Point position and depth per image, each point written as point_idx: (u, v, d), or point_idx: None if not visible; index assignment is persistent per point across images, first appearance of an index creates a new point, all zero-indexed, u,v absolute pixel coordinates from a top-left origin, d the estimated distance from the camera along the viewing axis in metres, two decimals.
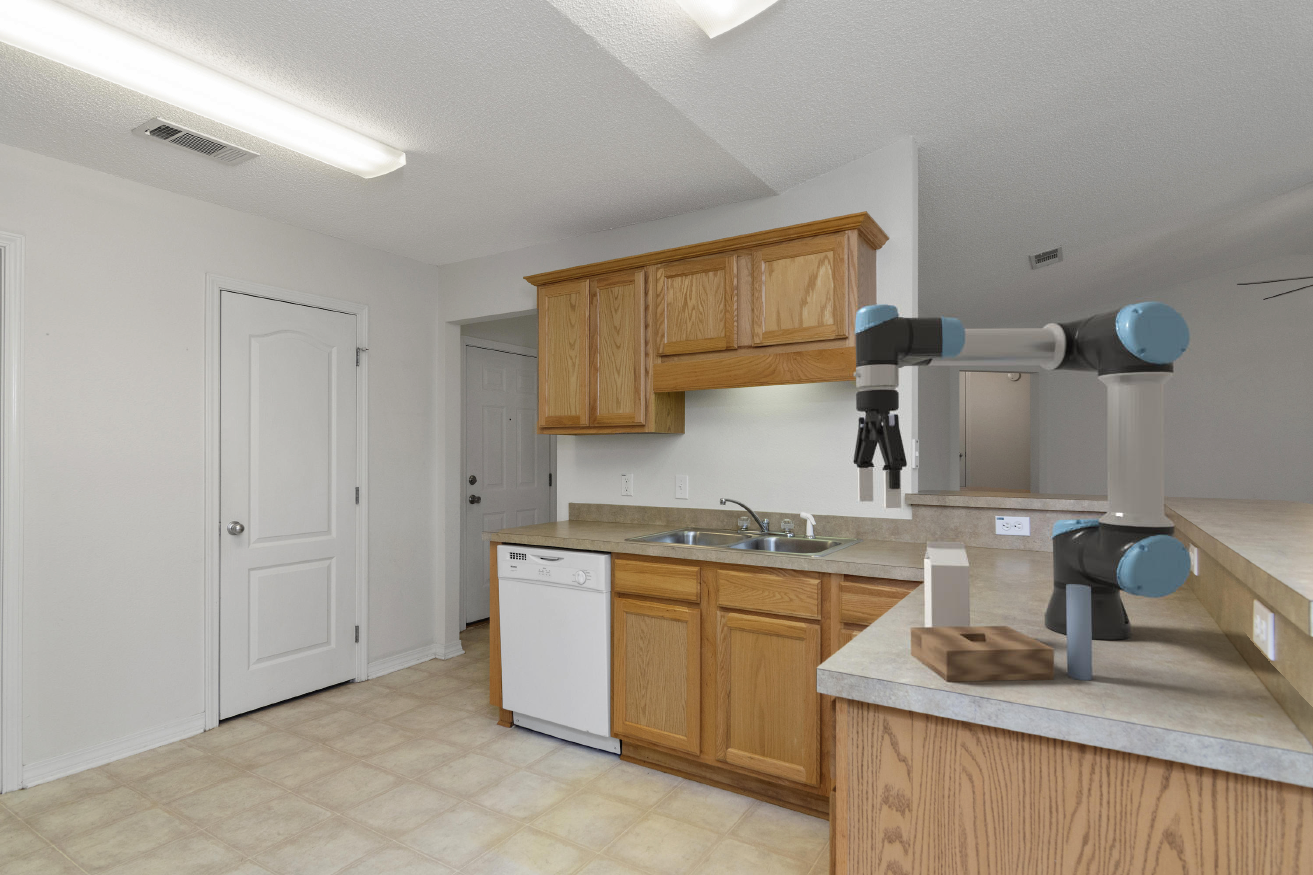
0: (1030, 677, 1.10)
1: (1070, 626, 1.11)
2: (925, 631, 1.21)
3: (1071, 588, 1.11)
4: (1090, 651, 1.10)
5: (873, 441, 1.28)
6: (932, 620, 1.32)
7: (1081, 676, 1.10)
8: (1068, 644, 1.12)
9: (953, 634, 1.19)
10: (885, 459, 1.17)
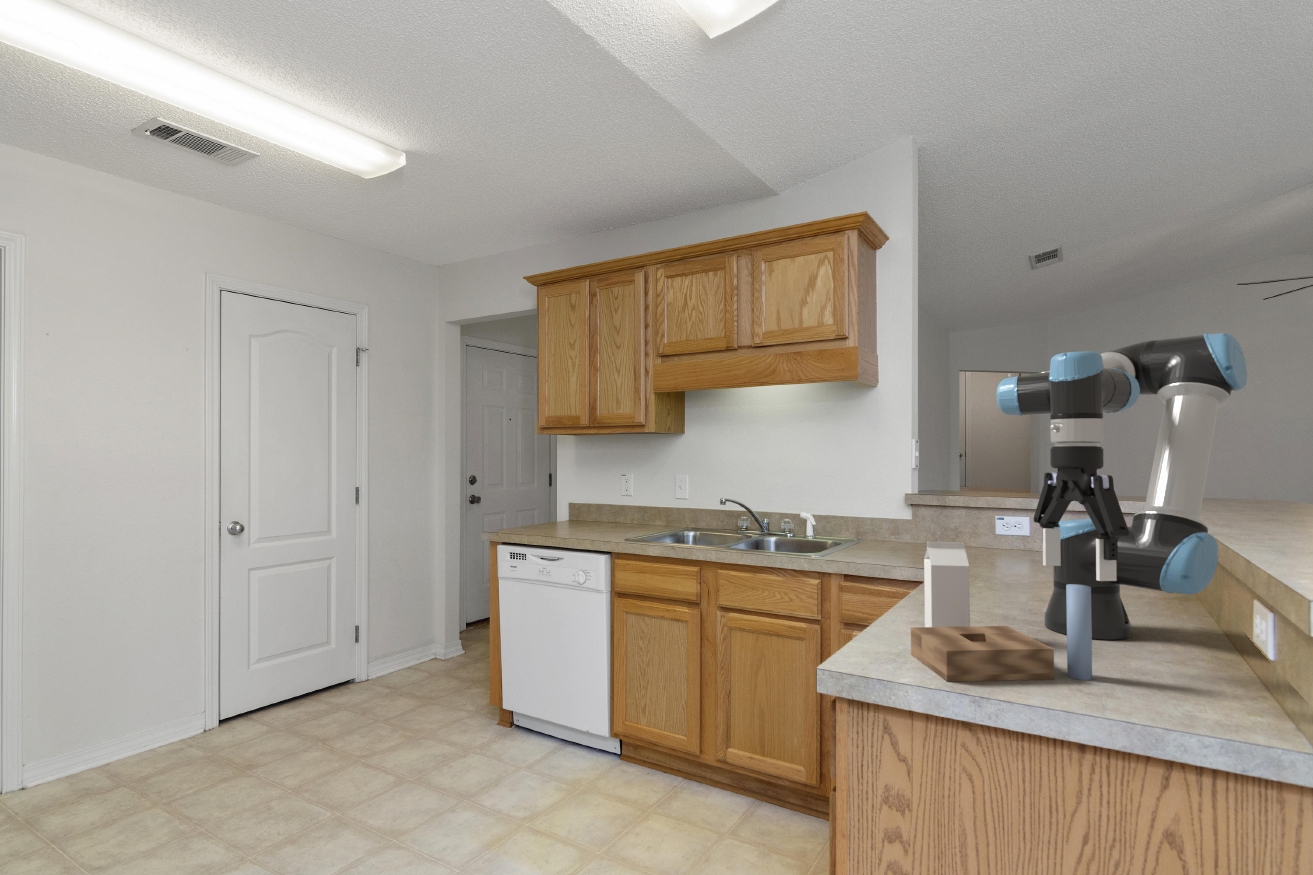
0: (1030, 677, 1.10)
1: (1070, 626, 1.11)
2: (925, 631, 1.21)
3: (1071, 588, 1.11)
4: (1090, 651, 1.10)
5: (1066, 500, 1.15)
6: (932, 620, 1.32)
7: (1081, 676, 1.10)
8: (1068, 644, 1.12)
9: (953, 634, 1.19)
10: (1098, 525, 1.05)
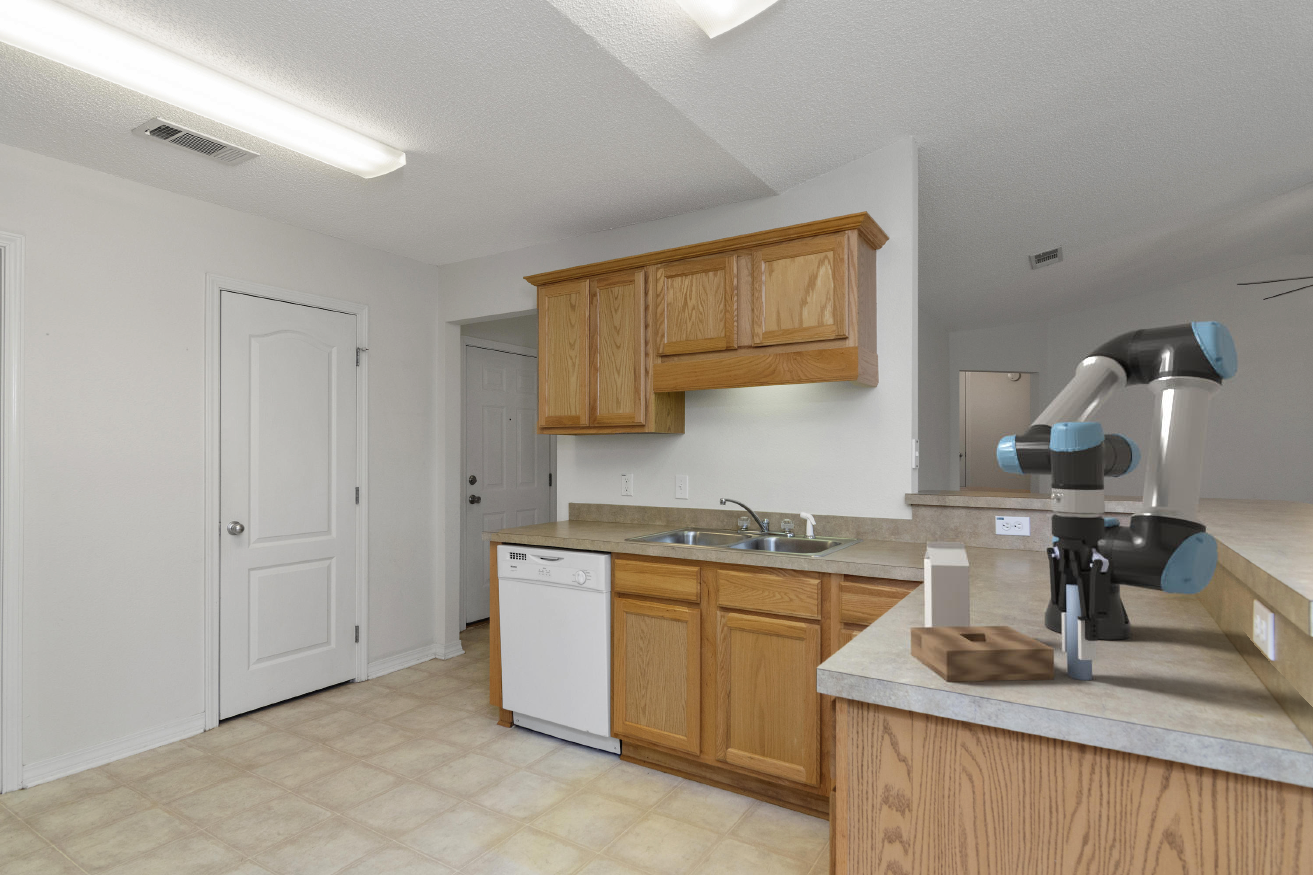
0: (1030, 677, 1.10)
1: (1070, 626, 1.11)
2: (925, 631, 1.21)
3: (1071, 588, 1.11)
4: None
5: None
6: (932, 620, 1.32)
7: (1081, 676, 1.10)
8: (1068, 644, 1.12)
9: (953, 634, 1.19)
10: (1083, 606, 1.09)
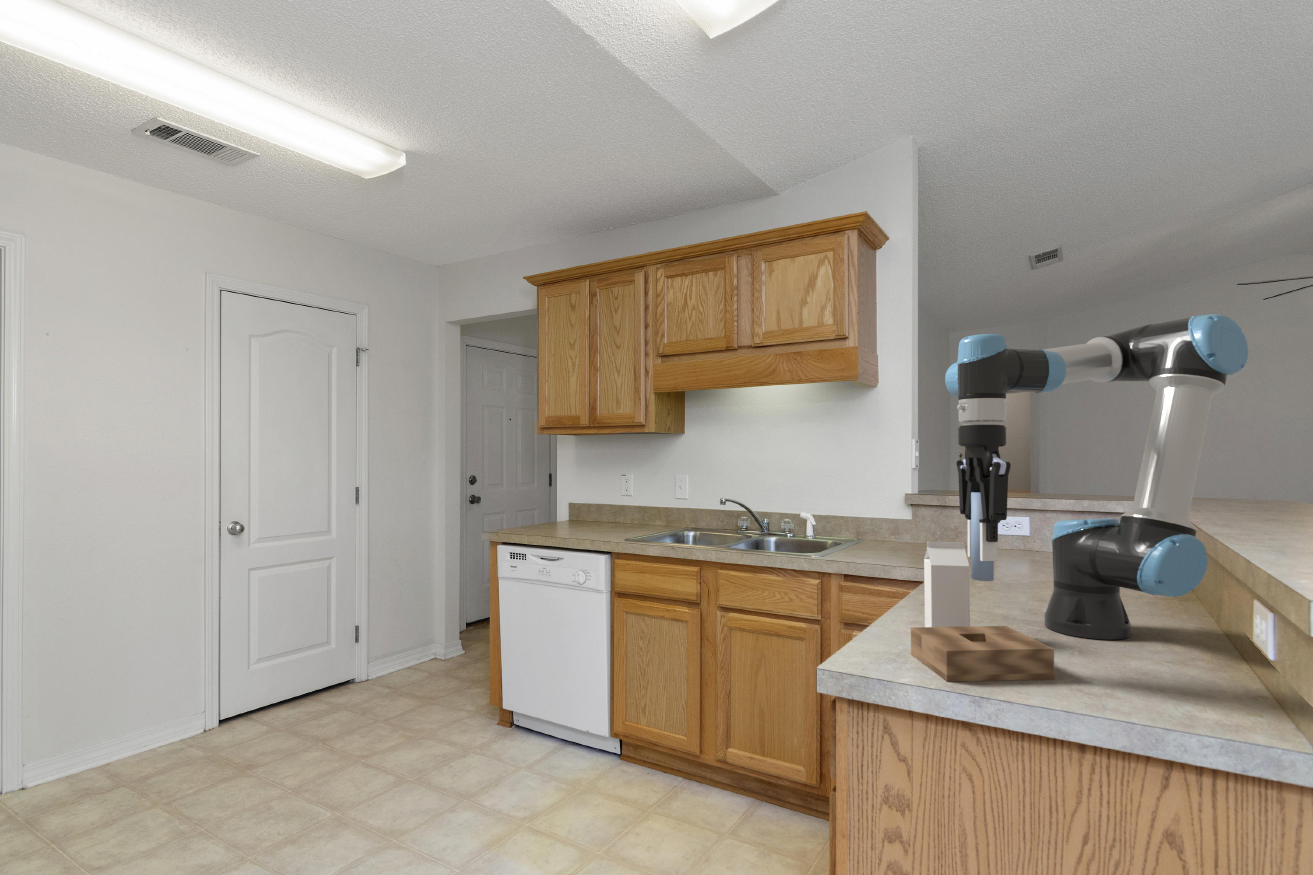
0: (1030, 677, 1.10)
1: (973, 530, 1.16)
2: (925, 631, 1.21)
3: (975, 494, 1.16)
4: None
5: None
6: (932, 620, 1.32)
7: (982, 577, 1.15)
8: (972, 548, 1.17)
9: (953, 634, 1.19)
10: (984, 509, 1.14)
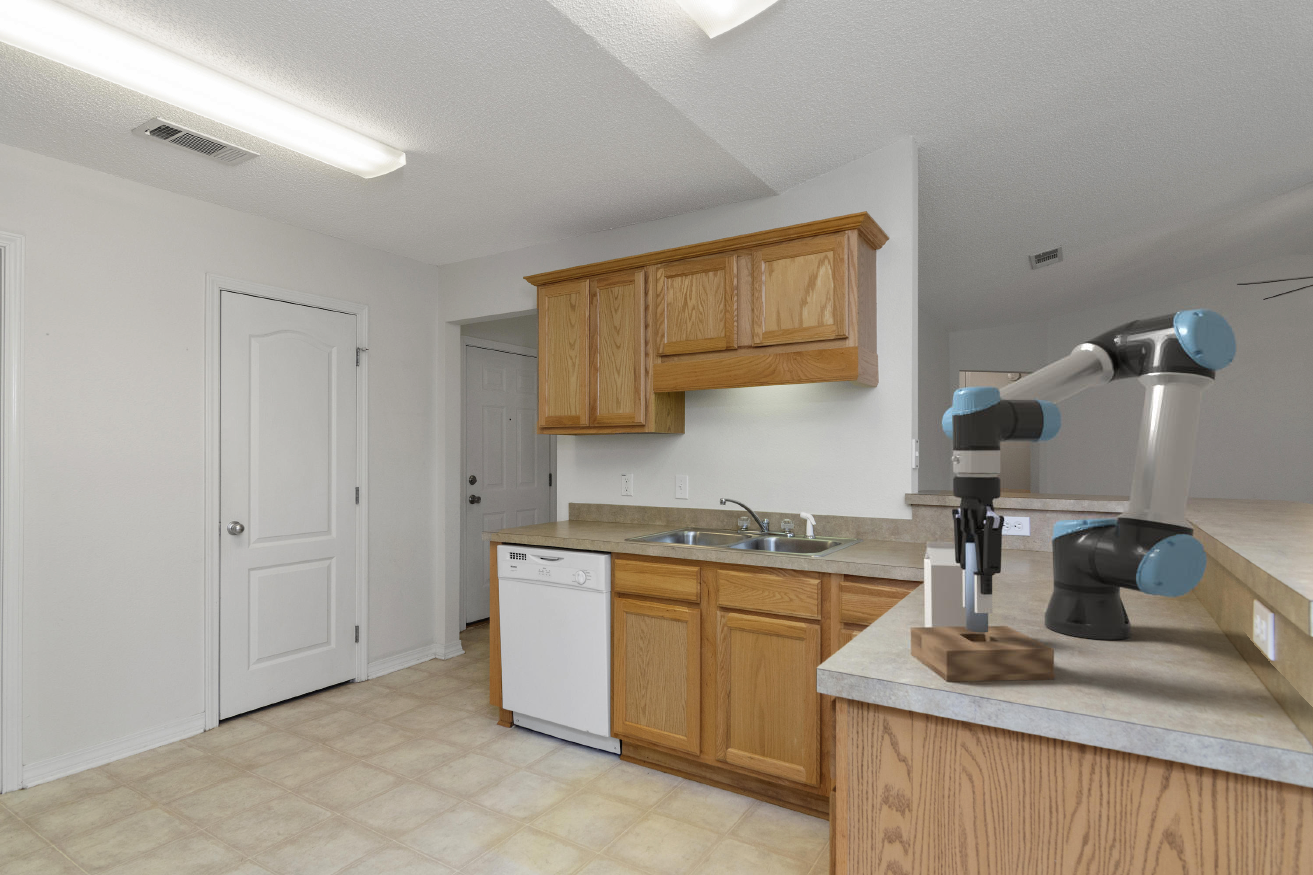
0: (1030, 677, 1.10)
1: (968, 581, 1.17)
2: (925, 631, 1.21)
3: (969, 545, 1.17)
4: None
5: None
6: (932, 620, 1.32)
7: (977, 629, 1.16)
8: (966, 599, 1.17)
9: (953, 634, 1.19)
10: (978, 561, 1.14)
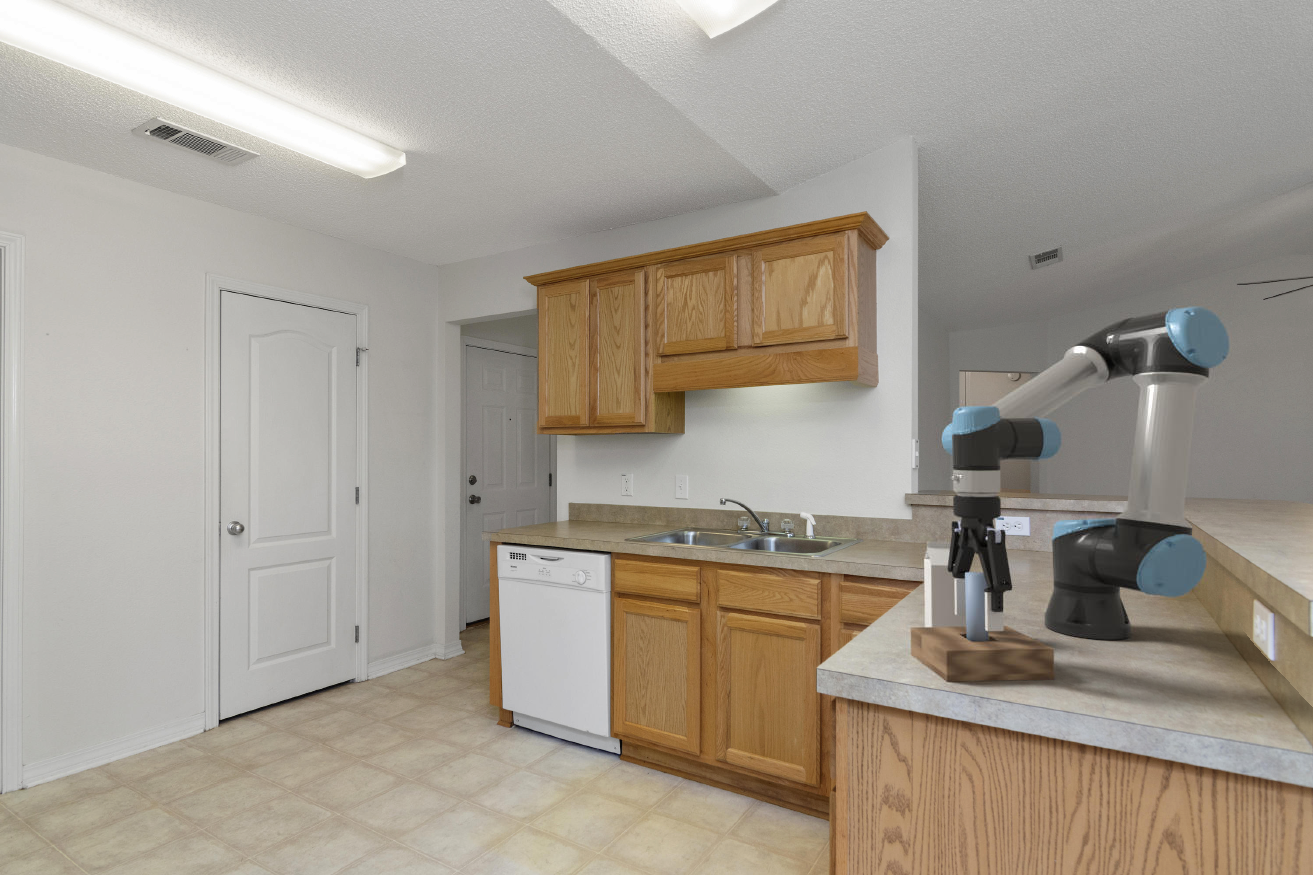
0: (1030, 677, 1.10)
1: (968, 611, 1.17)
2: (925, 631, 1.21)
3: (968, 575, 1.17)
4: (986, 635, 1.16)
5: (971, 548, 1.20)
6: (932, 620, 1.32)
7: None
8: (967, 629, 1.17)
9: (953, 634, 1.19)
10: (987, 578, 1.12)
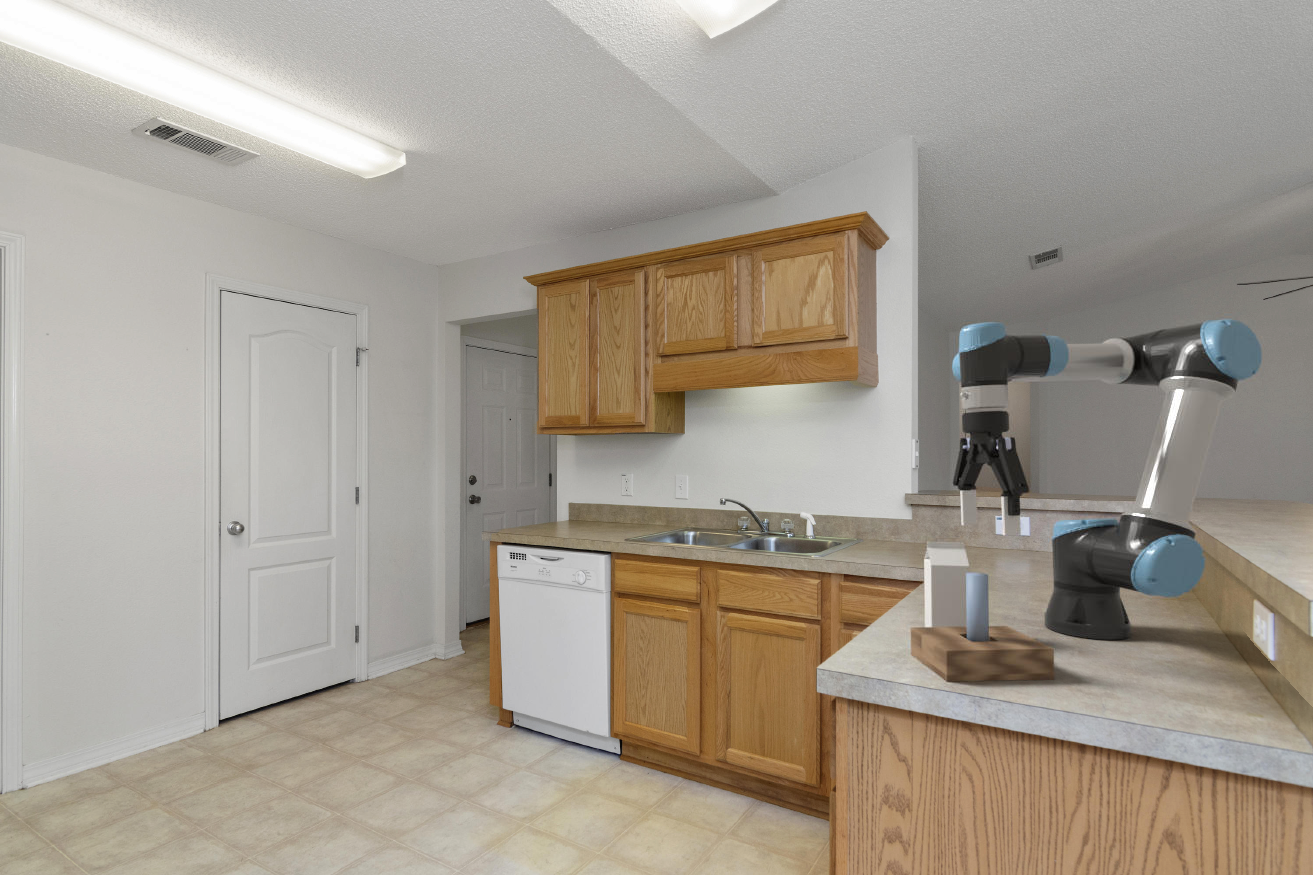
0: (1030, 677, 1.10)
1: (968, 612, 1.17)
2: (925, 631, 1.21)
3: (969, 576, 1.17)
4: (986, 636, 1.16)
5: (979, 463, 1.23)
6: (932, 620, 1.32)
7: None
8: (967, 629, 1.17)
9: (953, 634, 1.19)
10: (1002, 484, 1.13)
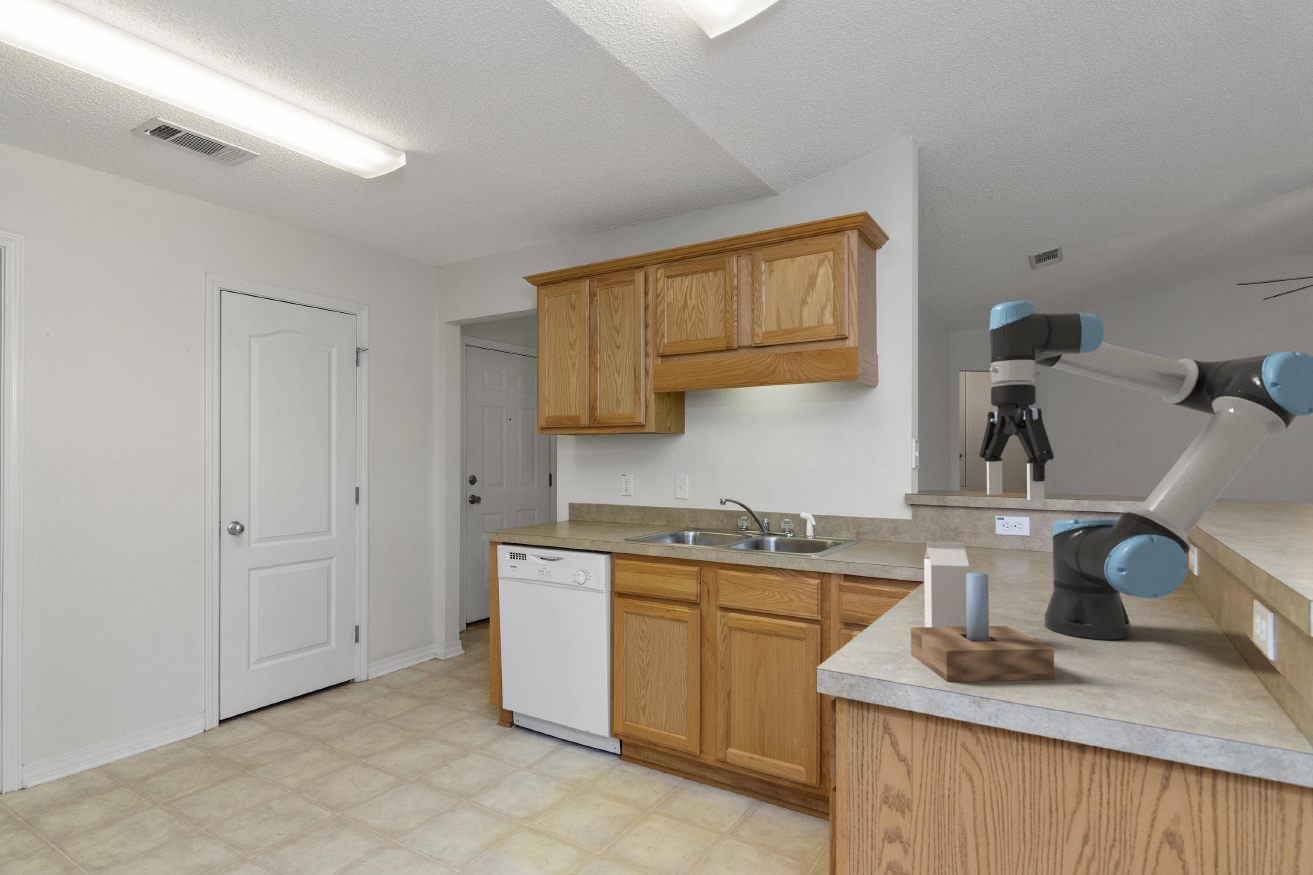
0: (1030, 677, 1.10)
1: (968, 612, 1.17)
2: (925, 631, 1.21)
3: (969, 576, 1.17)
4: (986, 636, 1.16)
5: (1005, 435, 1.30)
6: (932, 620, 1.32)
7: None
8: (967, 629, 1.17)
9: (953, 634, 1.19)
10: (1028, 452, 1.20)
